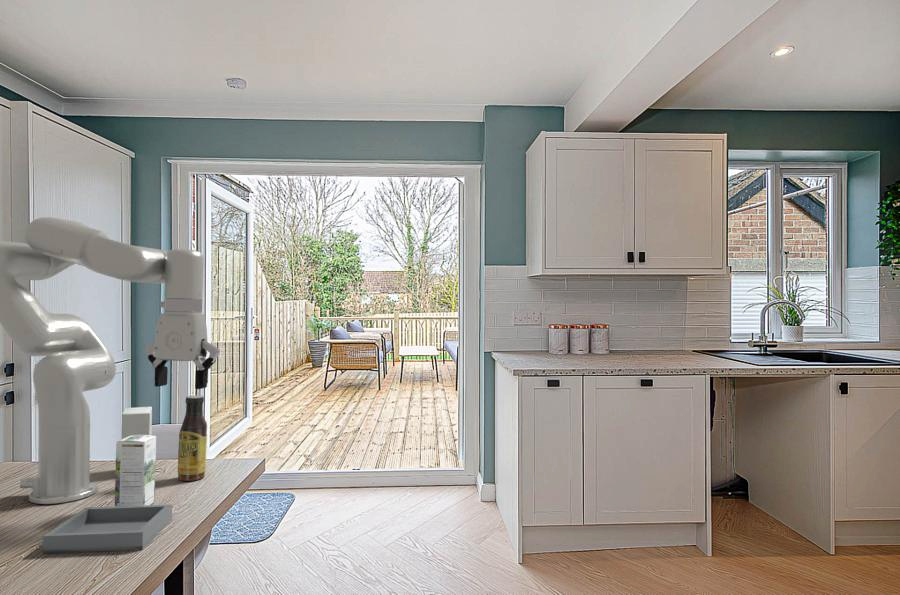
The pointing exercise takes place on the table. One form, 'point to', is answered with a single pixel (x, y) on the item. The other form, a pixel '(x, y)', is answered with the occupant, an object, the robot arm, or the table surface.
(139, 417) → the skincare box
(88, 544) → the tray
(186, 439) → the sauce bottle
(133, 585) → the table surface
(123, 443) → the syrup box
